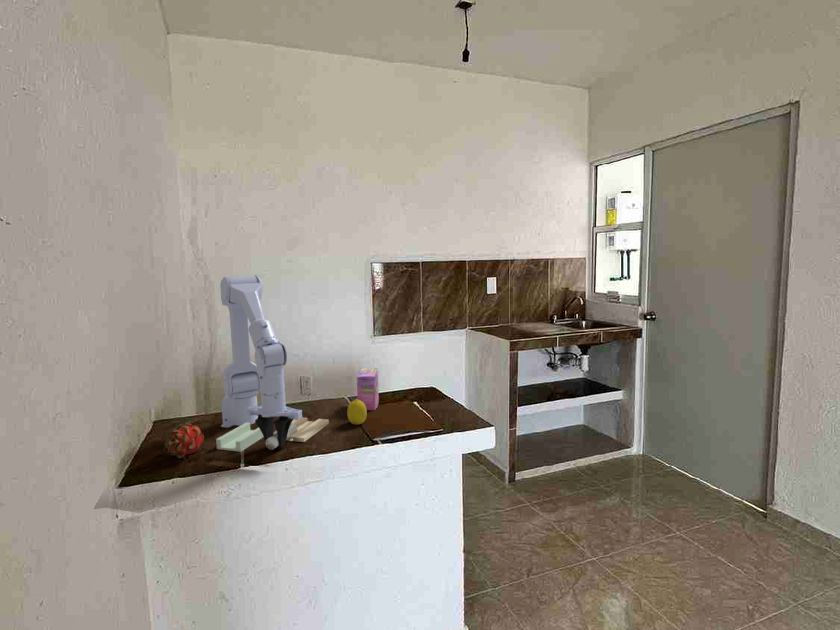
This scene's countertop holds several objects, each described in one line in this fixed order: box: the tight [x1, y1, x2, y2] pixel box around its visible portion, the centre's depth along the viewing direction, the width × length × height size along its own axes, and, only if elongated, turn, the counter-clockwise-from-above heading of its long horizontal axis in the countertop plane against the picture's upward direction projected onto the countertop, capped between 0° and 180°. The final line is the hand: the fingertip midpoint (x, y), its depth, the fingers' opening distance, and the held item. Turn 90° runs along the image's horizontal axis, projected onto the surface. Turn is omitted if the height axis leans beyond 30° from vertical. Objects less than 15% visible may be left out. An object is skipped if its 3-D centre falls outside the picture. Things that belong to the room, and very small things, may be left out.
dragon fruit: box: [163, 422, 205, 459], centre depth 118 cm, size 8×8×12 cm
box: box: [356, 367, 380, 411], centre depth 150 cm, size 10×6×12 cm, turn 179°
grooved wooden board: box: [273, 416, 330, 443], centre depth 130 cm, size 10×14×2 cm
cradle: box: [215, 423, 264, 453], centre depth 123 cm, size 7×12×4 cm, turn 164°
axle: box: [265, 424, 297, 450], centre depth 121 cm, size 10×3×3 cm, turn 164°
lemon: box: [347, 398, 368, 426], centre depth 135 cm, size 6×6×8 cm
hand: (276, 444), depth 118 cm, fingers closed on axle, 3 cm apart
